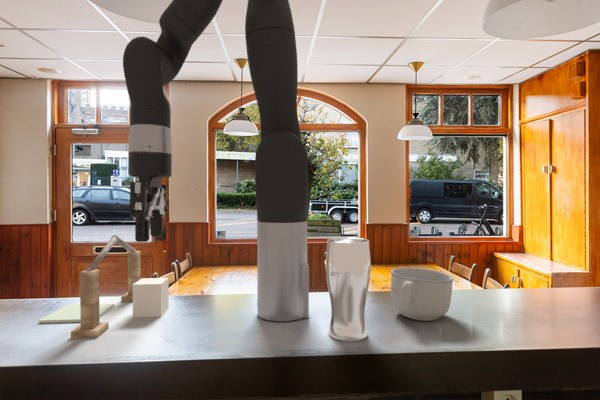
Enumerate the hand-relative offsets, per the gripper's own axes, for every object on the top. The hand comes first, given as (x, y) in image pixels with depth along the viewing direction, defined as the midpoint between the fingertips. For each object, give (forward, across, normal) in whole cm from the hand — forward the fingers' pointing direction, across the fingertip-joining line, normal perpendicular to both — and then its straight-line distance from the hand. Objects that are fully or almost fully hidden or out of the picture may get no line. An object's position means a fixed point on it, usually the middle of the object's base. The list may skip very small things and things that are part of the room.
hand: (150, 238), depth 71 cm
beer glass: (+14, -14, -35) cm, 40 cm away
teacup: (+14, -7, -49) cm, 51 cm away
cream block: (+14, 0, 0) cm, 14 cm away
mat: (+14, 0, +13) cm, 19 cm away
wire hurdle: (+14, 0, +6) cm, 15 cm away
